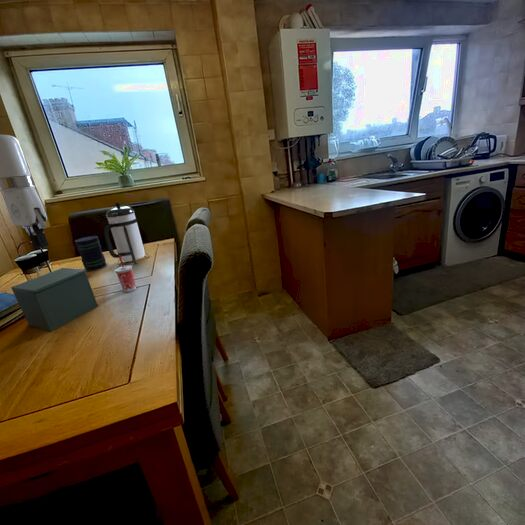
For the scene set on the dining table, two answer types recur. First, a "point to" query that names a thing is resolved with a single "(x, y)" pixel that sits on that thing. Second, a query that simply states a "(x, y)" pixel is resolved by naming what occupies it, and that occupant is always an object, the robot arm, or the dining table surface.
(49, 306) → the case
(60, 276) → the cover
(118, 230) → the coffee press
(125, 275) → the beverage cup
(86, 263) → the storage jar
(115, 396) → the dining table surface
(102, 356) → the dining table surface
